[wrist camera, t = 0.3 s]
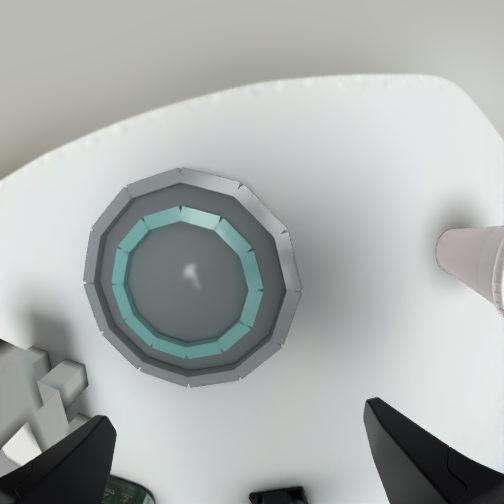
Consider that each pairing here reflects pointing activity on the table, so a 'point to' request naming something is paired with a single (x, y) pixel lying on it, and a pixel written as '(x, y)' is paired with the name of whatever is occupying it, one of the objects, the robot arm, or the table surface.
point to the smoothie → (475, 260)
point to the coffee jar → (125, 493)
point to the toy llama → (36, 401)
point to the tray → (191, 278)
